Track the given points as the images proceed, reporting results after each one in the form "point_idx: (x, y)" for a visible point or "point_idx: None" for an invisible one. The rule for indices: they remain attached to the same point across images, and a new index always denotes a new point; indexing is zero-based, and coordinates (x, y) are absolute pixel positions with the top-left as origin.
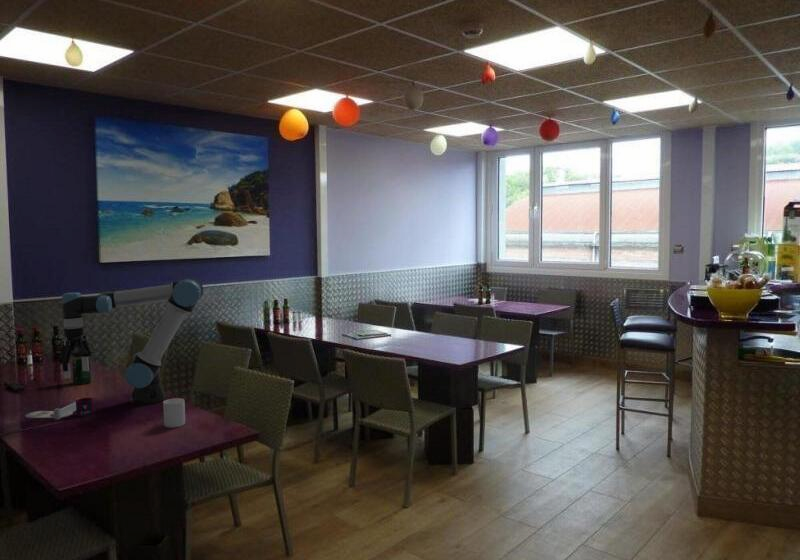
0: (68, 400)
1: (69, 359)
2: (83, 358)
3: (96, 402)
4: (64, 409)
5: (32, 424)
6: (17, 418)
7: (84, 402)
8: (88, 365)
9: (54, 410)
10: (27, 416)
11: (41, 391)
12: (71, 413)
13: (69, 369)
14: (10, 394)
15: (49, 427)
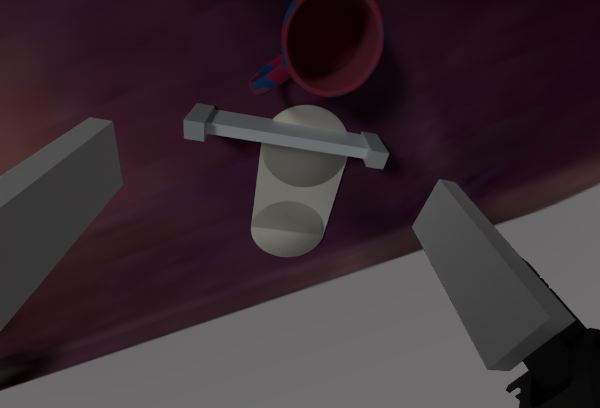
0: None
1: (592, 393)
2: (7, 287)
3: (91, 58)
4: (328, 139)
5: (408, 199)
6: (319, 263)
7: (381, 22)
8: (53, 148)
9: (382, 164)
10: (312, 246)
11: None
12: (302, 109)
13: (504, 245)
14: (72, 360)
15: (480, 124)
